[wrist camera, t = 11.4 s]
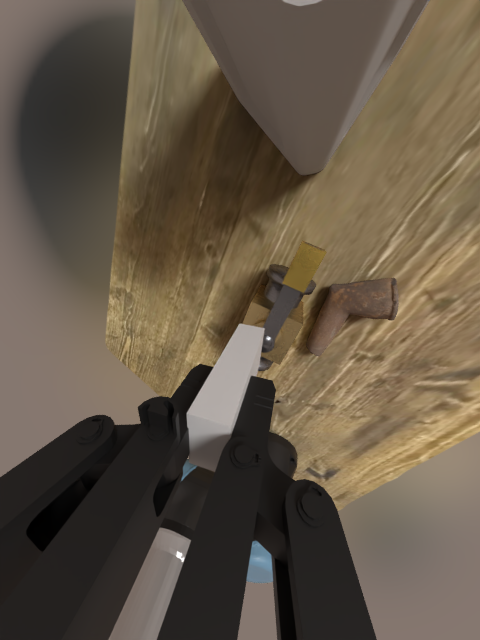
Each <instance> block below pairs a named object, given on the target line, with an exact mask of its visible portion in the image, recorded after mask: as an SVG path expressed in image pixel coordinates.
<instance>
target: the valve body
mask: <svg viewBox="0 0 480 640" xmlns="http://www.w3.org/2000/svg"><path fill="white" fill-rule="evenodd" d="M288 269H289V268H288V267H285V266H282V265H277V264H272V265H270V266H269V269H268V271H267V276H268V277H269V278H270V280H269V282H268V284H267V286H265V285H263V284H262V285H261V286H260V288H259V290H258V291H257V293H256V295H255V296H254V298H253V300H252V301H251V304H250V306H249V309H248V311H247V313H246V316H245V318H244V321H243V323H242V324H245V325H250V326H256V327H261V328H262V327H263V325H264V323H265V321H266V319H267V317H268V315H269V313H270V311H271V309H272V307H273V305H274V303H275V301H276V299H277V297H278V295H279V293H280V291H281V289H282V287H283V285H284V284H283V283H282V282H283V279H284V277H285V275H286V273H287V271H288ZM315 287H316V284H315V282H314V281H313V280H311V281H310V283H309V285H308V287H307V288H306V290H305V292H304V293H303V292H301V293H300V295H299V297H298V299H297V301H296V302H295V304H294V306H293V308H292V310H291V311H290V313H289V315H288V317H287V319H286V320H285V322H284V324H283V326H282V328H281V329H280V331H279V333H278V335H277V337H276V340H275V344H274V348H273V350H272V351H270V352H267V353H262V352H261V357H260V364H259V368H258V371H265V370H268V369H269V368H270V367H271V365H272V363H273V362H275V363H277V364H279V365H280V363H281V362H282V360H283V358H284V357H285V355H286V353H287V352H288V350H289V348H290V346H291V345H292V343H293V341H294V340H295V338H296V336H297V335H298V333H299V331H300V329H301V328H302V326H303V302H302V301H301V299H302V298H303V296H304V294H305V295H310V294H312V292H313V290H314V289H315Z"/></svg>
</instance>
